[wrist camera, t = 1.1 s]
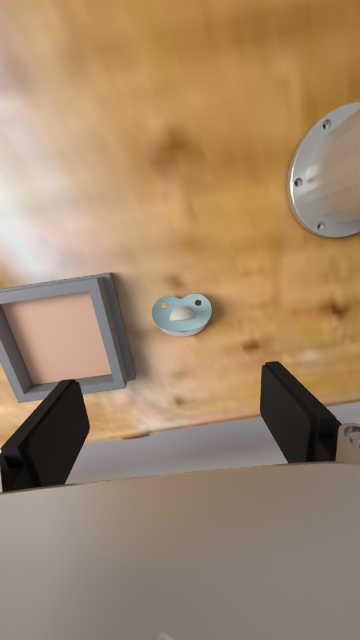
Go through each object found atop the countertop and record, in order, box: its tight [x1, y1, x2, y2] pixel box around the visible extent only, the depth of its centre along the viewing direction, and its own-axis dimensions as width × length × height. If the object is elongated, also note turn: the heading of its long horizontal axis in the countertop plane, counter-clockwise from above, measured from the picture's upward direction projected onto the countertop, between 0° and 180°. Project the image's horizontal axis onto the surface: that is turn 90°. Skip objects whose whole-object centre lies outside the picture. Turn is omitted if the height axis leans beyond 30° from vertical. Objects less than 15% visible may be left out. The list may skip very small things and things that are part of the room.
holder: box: [0, 273, 136, 403], centre depth 27 cm, size 16×15×3 cm
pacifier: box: [152, 294, 212, 337], centre depth 26 cm, size 7×6×6 cm
